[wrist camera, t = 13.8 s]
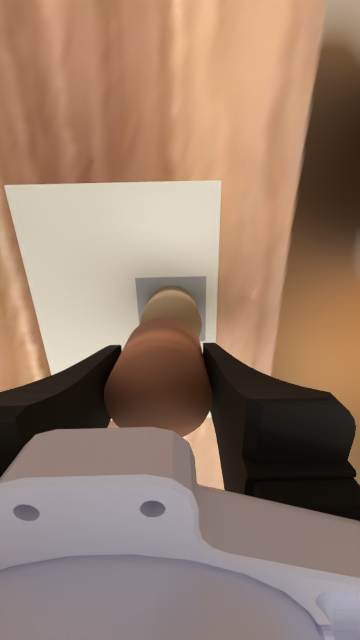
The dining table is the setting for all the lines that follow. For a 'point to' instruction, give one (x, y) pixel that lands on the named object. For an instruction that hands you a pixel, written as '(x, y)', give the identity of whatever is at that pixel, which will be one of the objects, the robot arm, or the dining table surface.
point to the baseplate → (114, 257)
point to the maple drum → (173, 307)
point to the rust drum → (160, 379)
